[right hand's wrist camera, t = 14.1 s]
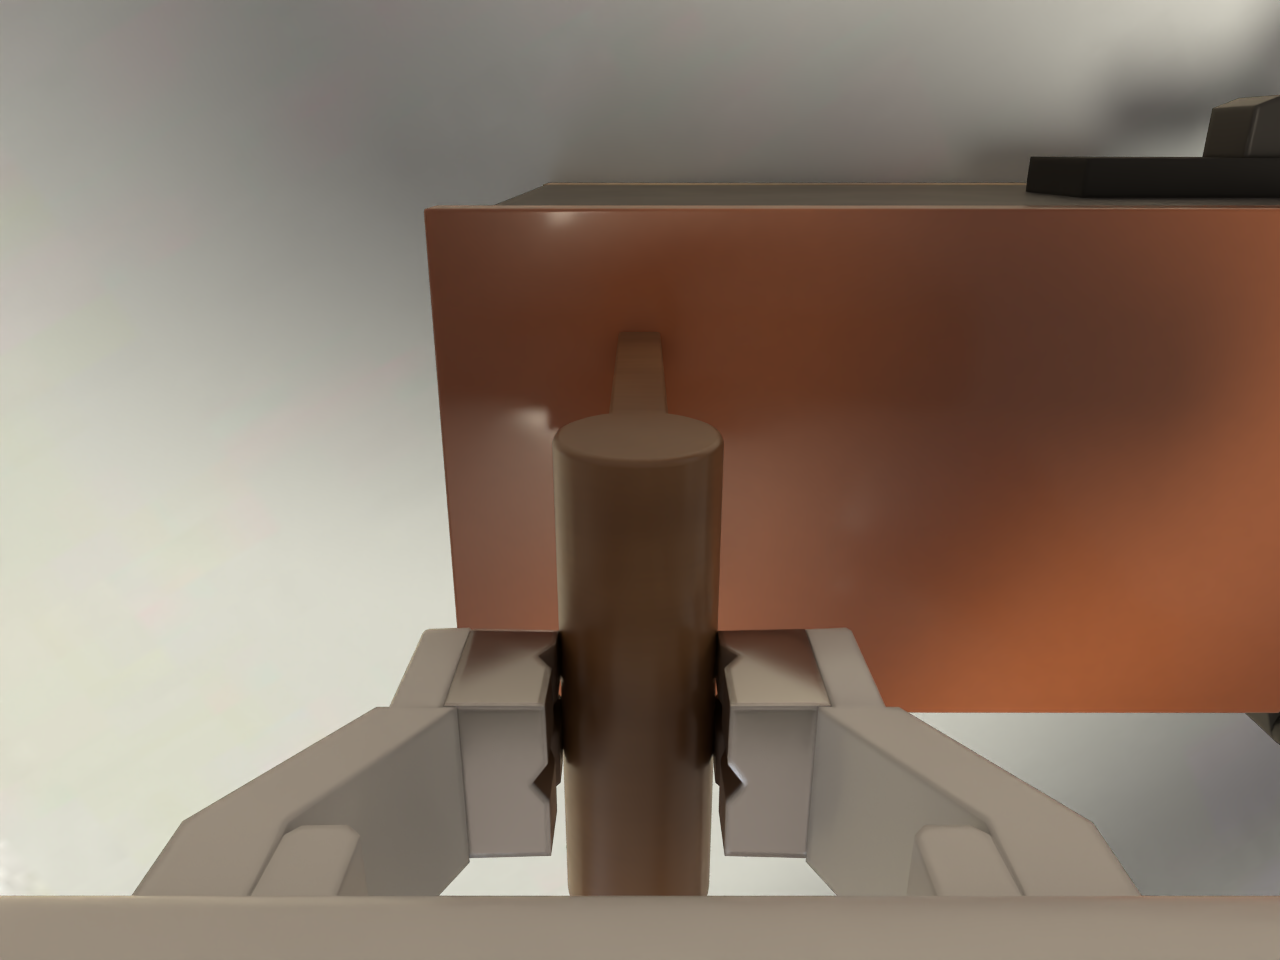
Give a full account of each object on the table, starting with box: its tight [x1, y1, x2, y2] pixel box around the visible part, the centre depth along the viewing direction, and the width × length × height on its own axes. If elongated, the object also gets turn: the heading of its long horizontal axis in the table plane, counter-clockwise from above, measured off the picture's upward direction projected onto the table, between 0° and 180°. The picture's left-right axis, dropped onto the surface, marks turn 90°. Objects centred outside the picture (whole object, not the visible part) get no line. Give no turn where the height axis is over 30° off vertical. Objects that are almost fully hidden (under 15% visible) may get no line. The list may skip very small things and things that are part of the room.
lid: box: [424, 205, 1280, 896], centre depth 13 cm, size 16×10×8 cm, turn 90°
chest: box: [496, 183, 1280, 205], centre depth 22 cm, size 15×10×10 cm, turn 90°
